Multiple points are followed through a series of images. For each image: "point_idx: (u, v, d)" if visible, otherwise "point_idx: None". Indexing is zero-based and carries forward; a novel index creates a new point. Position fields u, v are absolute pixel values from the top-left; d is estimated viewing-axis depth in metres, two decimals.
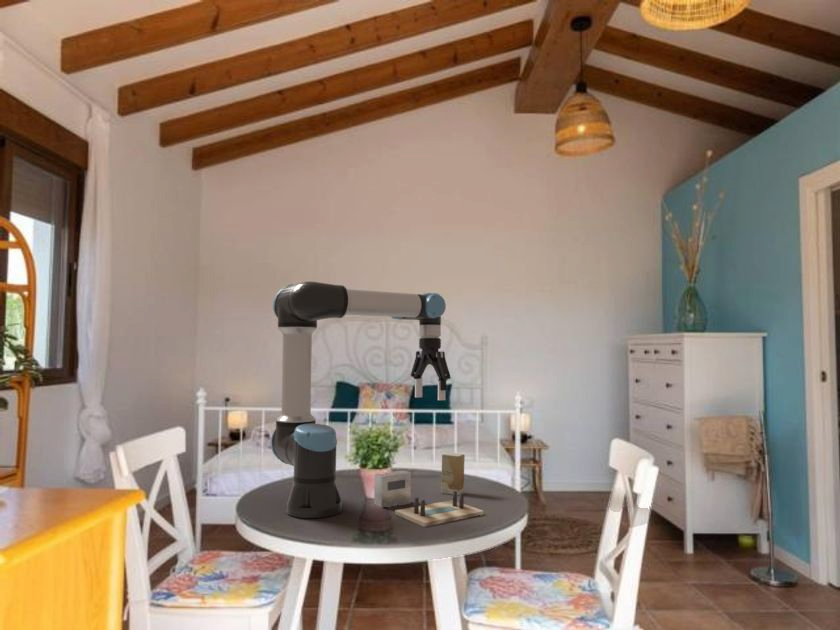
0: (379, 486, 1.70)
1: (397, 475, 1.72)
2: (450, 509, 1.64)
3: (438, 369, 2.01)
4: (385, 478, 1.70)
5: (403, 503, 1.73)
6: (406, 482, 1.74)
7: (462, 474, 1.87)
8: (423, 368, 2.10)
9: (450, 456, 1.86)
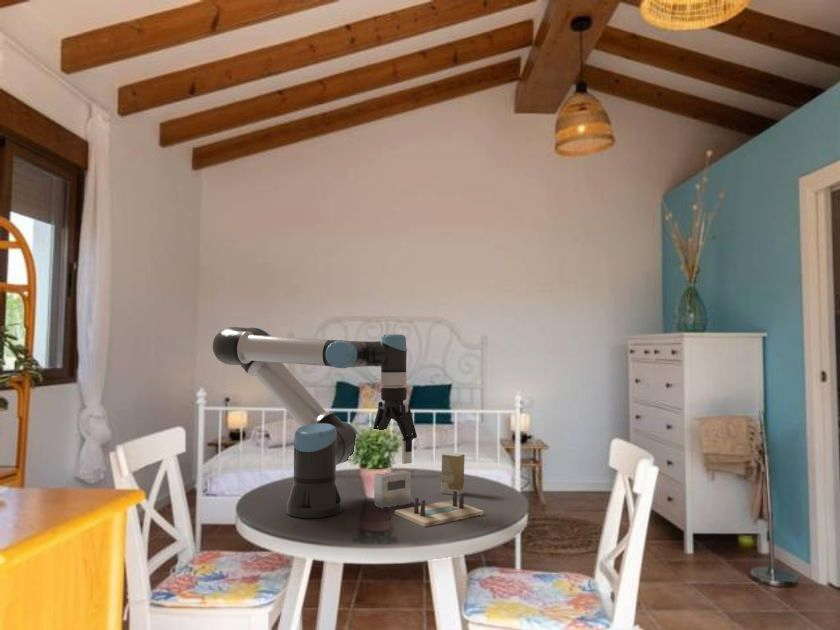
0: (379, 486, 1.70)
1: (397, 475, 1.72)
2: (450, 509, 1.64)
3: (403, 426, 1.69)
4: (385, 478, 1.70)
5: (403, 503, 1.73)
6: (406, 482, 1.74)
7: (462, 474, 1.87)
8: (387, 422, 1.78)
9: (450, 456, 1.86)
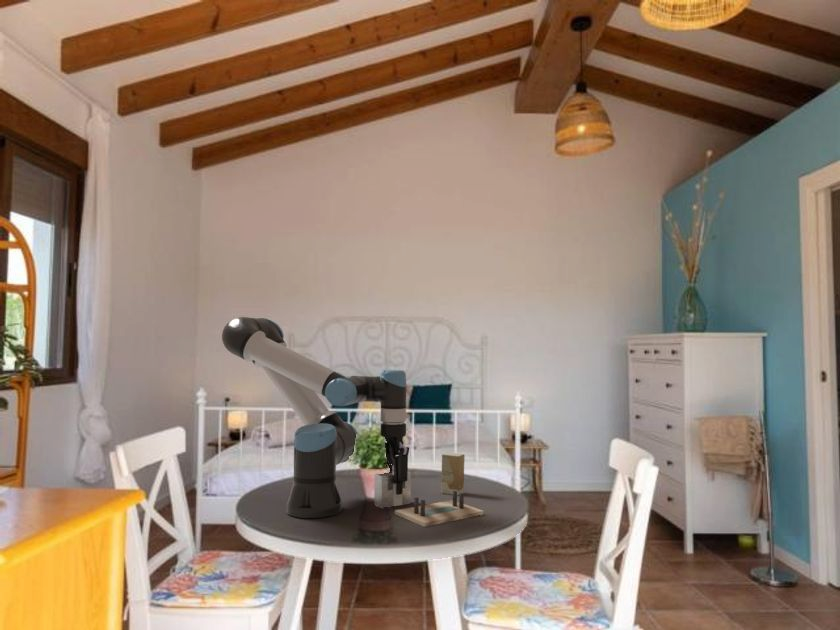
0: (379, 486, 1.70)
1: None
2: (450, 509, 1.64)
3: (397, 468, 1.71)
4: (385, 478, 1.70)
5: (403, 503, 1.73)
6: (406, 482, 1.74)
7: (462, 474, 1.87)
8: (390, 462, 1.75)
9: (450, 456, 1.86)
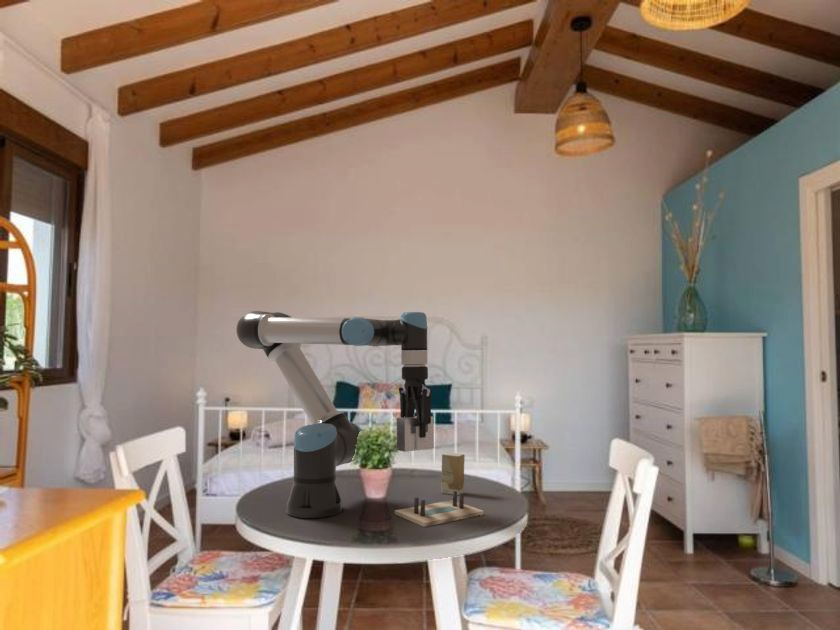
0: (402, 430, 1.66)
1: None
2: (450, 509, 1.64)
3: (419, 410, 1.67)
4: (408, 421, 1.66)
5: (426, 447, 1.69)
6: (429, 426, 1.70)
7: (462, 474, 1.87)
8: (412, 406, 1.72)
9: (450, 456, 1.86)
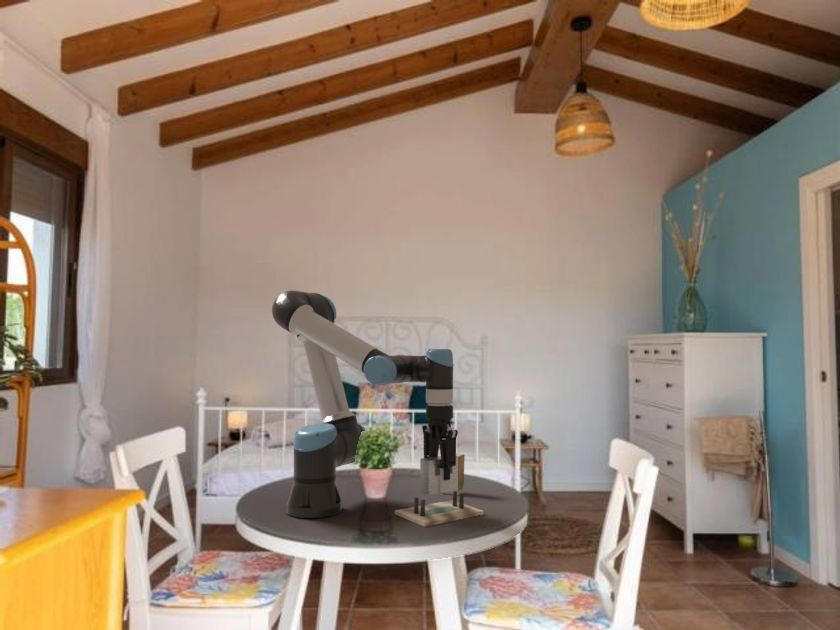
0: (426, 471, 1.60)
1: None
2: (450, 509, 1.64)
3: (444, 452, 1.61)
4: (432, 462, 1.60)
5: (450, 489, 1.63)
6: (454, 467, 1.64)
7: (462, 474, 1.87)
8: (436, 446, 1.66)
9: None
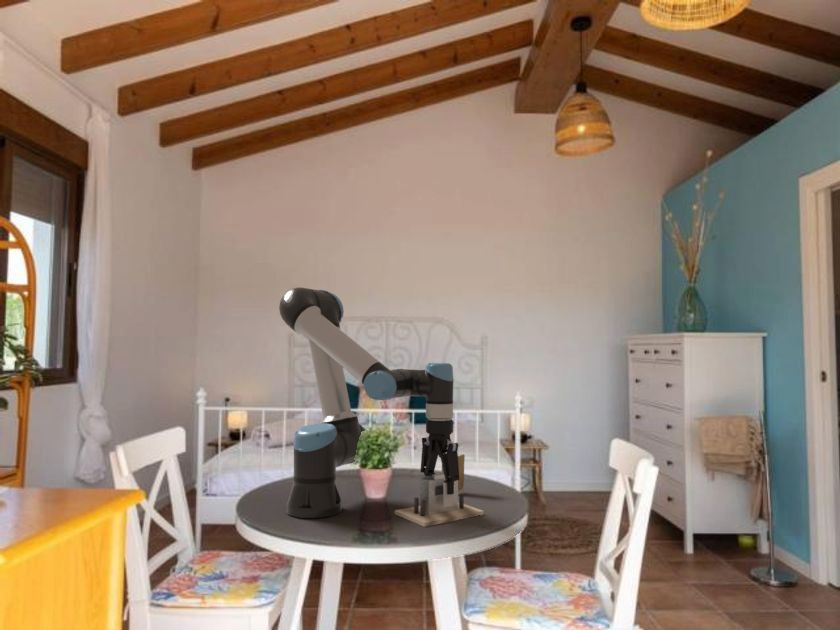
0: (426, 491, 1.60)
1: (444, 479, 1.62)
2: None
3: (446, 466, 1.60)
4: (432, 482, 1.60)
5: (450, 509, 1.63)
6: (454, 487, 1.64)
7: (462, 474, 1.87)
8: (434, 459, 1.66)
9: None
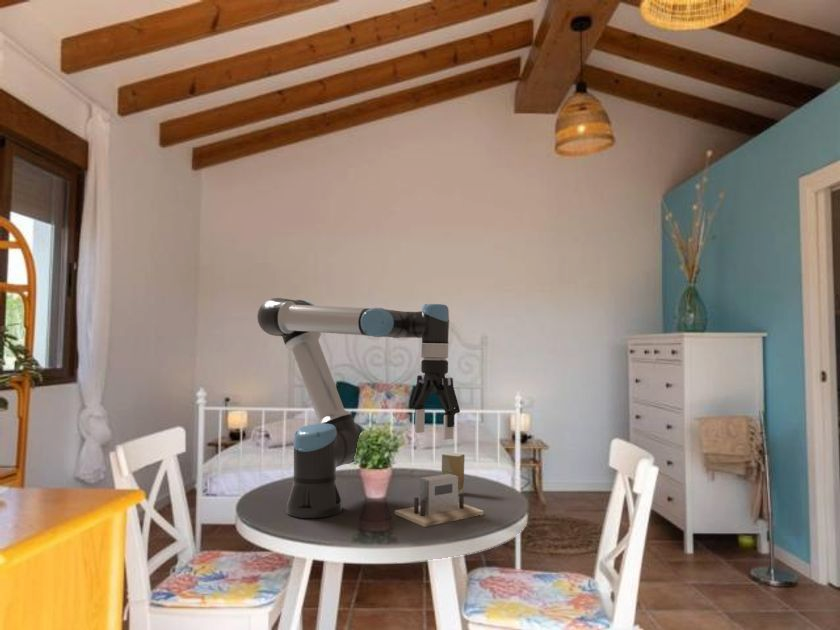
0: (426, 491, 1.60)
1: (444, 479, 1.62)
2: None
3: (444, 400, 1.61)
4: (432, 482, 1.60)
5: (450, 509, 1.63)
6: (454, 487, 1.64)
7: (462, 474, 1.87)
8: (426, 397, 1.70)
9: (450, 456, 1.86)
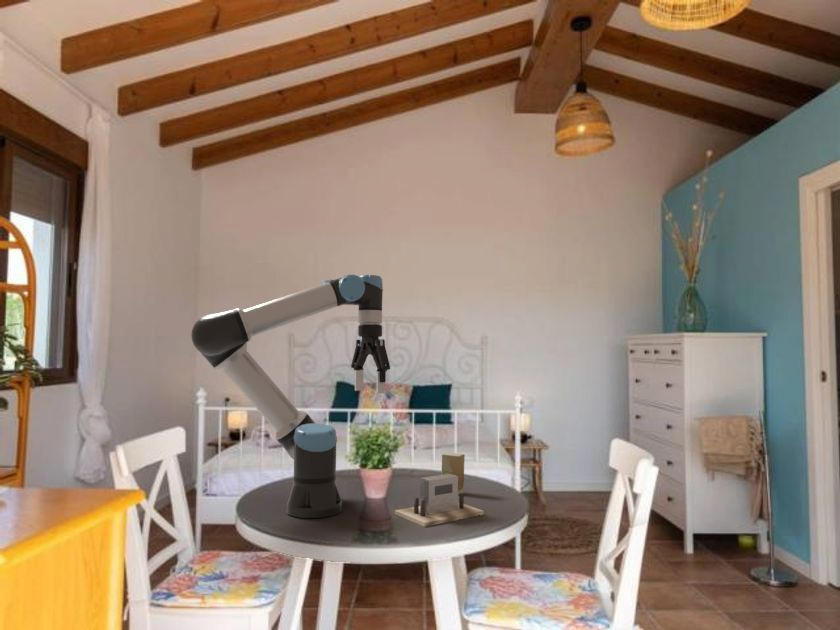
0: (426, 491, 1.60)
1: (444, 479, 1.62)
2: None
3: (377, 359, 1.82)
4: (432, 482, 1.60)
5: (450, 509, 1.63)
6: (454, 487, 1.64)
7: (462, 474, 1.87)
8: (363, 358, 1.91)
9: (450, 456, 1.86)
